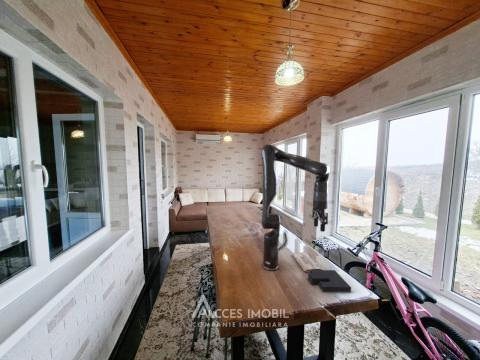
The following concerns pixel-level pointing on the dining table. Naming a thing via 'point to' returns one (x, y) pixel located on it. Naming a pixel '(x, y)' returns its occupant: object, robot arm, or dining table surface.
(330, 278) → the notched mat
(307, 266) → the newspaper
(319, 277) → the black pad
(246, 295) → the dining table surface
